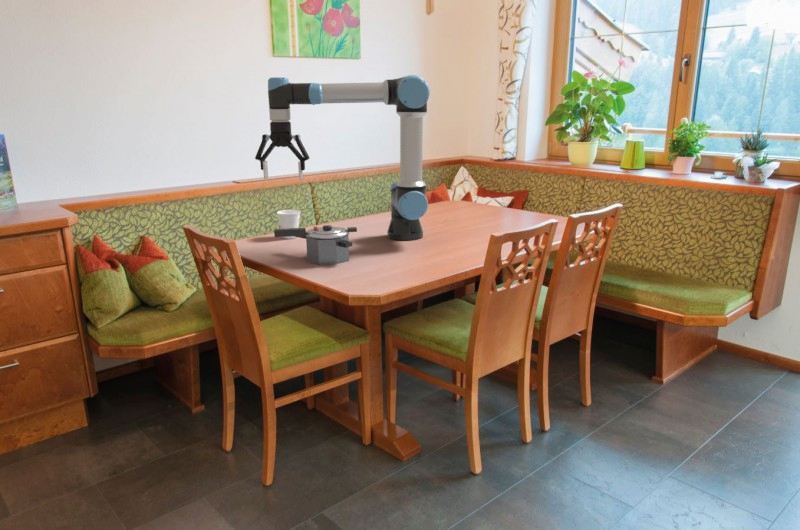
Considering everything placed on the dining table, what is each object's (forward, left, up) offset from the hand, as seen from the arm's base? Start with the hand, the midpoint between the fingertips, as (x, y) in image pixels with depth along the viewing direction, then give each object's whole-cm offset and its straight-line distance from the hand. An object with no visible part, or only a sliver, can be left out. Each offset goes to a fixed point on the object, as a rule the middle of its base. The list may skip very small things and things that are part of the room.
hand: (283, 178), depth 229 cm
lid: (-17, +11, -18) cm, 27 cm away
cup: (+8, -20, -28) cm, 35 cm away
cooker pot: (-18, +8, -27) cm, 34 cm away
